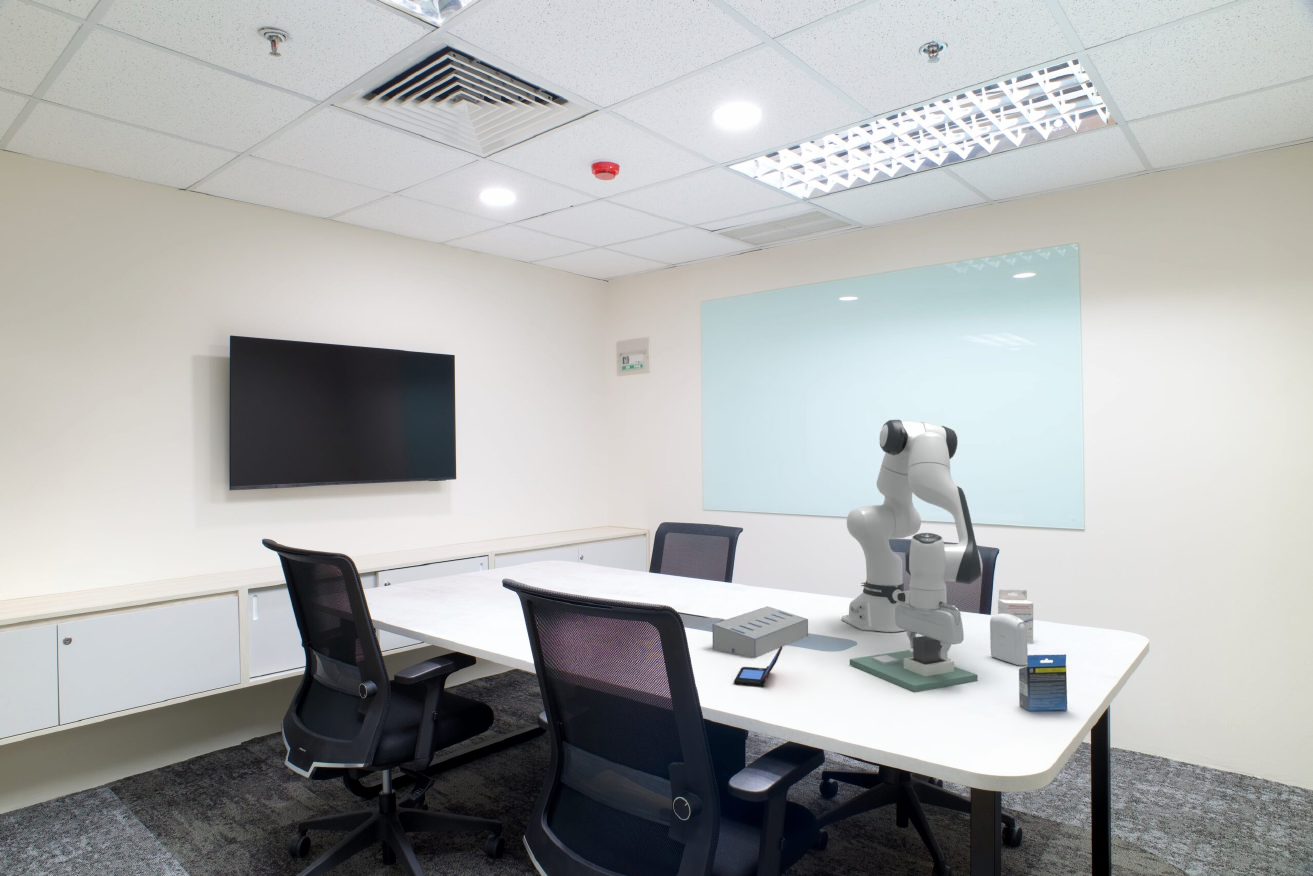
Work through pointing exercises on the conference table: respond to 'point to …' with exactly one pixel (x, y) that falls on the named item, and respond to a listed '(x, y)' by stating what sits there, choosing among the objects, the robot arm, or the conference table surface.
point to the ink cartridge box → (1017, 608)
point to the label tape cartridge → (1043, 683)
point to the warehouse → (758, 632)
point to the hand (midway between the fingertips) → (928, 653)
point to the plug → (926, 650)
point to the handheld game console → (755, 674)
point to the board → (913, 671)
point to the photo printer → (1008, 639)
